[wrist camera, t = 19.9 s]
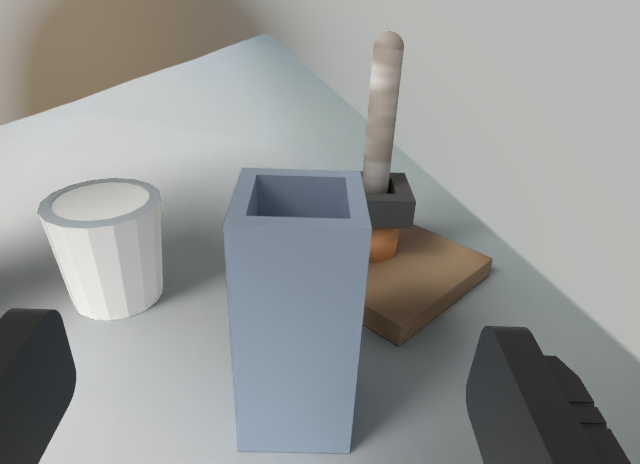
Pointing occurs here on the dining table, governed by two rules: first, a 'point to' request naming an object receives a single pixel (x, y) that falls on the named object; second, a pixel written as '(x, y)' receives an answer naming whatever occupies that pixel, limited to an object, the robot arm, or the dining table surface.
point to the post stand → (405, 244)
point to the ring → (392, 204)
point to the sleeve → (296, 306)
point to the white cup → (107, 245)
